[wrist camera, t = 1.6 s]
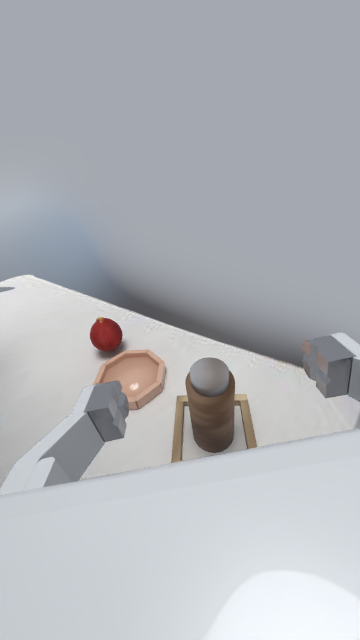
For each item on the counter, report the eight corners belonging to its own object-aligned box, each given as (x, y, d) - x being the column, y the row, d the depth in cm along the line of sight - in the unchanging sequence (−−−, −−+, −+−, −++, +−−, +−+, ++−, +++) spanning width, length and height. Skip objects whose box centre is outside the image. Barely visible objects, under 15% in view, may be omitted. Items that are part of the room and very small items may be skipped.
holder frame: (171, 473, 27) (170, 469, 27) (177, 399, 36) (177, 395, 35) (260, 475, 26) (261, 471, 26) (245, 398, 34) (246, 394, 34)
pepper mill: (193, 452, 29) (182, 393, 22) (193, 414, 33) (185, 354, 27) (236, 452, 28) (238, 391, 22) (231, 413, 33) (231, 352, 26)
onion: (99, 343, 49) (86, 310, 44) (126, 337, 49) (116, 305, 45) (95, 362, 44) (80, 329, 40) (125, 356, 45) (114, 322, 40)
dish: (89, 410, 36) (84, 402, 35) (110, 358, 45) (107, 351, 44) (160, 409, 35) (158, 401, 34) (167, 356, 44) (166, 348, 42)
